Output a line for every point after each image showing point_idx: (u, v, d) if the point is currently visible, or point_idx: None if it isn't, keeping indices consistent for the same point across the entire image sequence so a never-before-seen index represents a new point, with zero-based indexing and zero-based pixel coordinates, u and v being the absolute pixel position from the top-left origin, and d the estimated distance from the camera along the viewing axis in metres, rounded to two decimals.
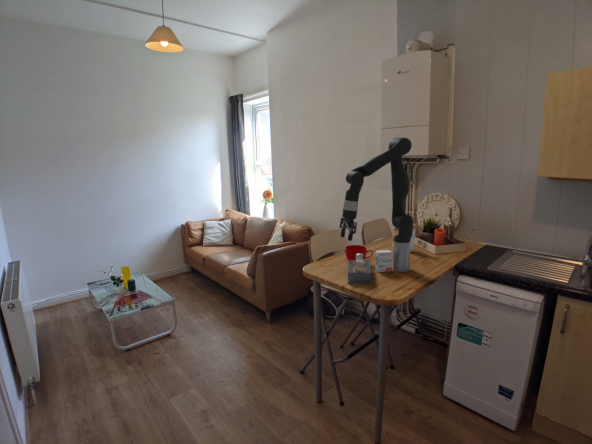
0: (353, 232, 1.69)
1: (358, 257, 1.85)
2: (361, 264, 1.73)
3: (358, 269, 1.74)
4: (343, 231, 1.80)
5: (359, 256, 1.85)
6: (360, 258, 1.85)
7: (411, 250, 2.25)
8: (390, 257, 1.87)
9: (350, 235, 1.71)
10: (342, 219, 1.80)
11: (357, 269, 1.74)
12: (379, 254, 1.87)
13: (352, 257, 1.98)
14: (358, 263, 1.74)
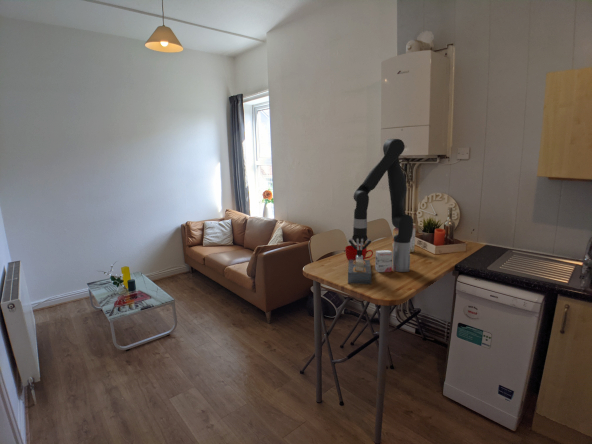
0: None
1: (358, 259, 1.86)
2: (361, 264, 1.73)
3: (358, 269, 1.74)
4: None
5: (359, 258, 1.85)
6: None
7: (411, 250, 2.25)
8: (390, 257, 1.87)
9: None
10: (351, 240, 1.85)
11: (357, 269, 1.74)
12: (379, 254, 1.87)
13: (352, 257, 1.98)
14: (358, 263, 1.74)
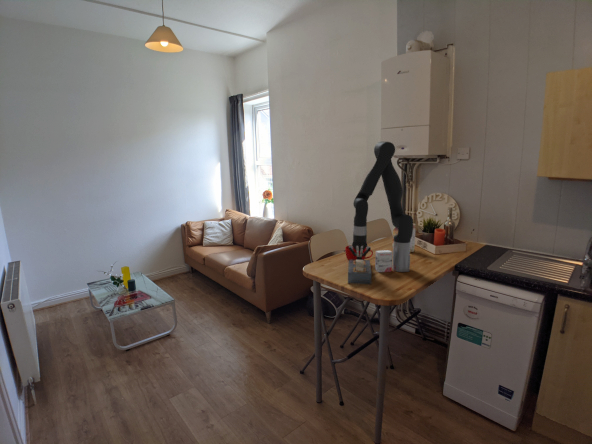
0: (365, 254, 1.86)
1: None
2: (361, 264, 1.73)
3: (358, 269, 1.74)
4: None
5: None
6: None
7: (411, 250, 2.25)
8: (390, 257, 1.87)
9: None
10: (350, 247, 1.86)
11: (357, 269, 1.74)
12: (379, 254, 1.87)
13: (352, 257, 1.98)
14: (358, 263, 1.74)
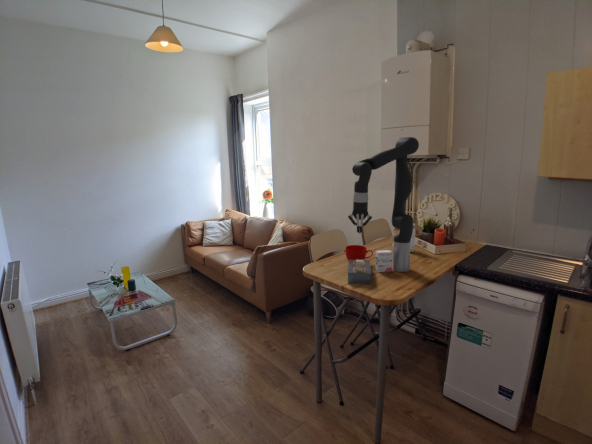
0: (365, 224, 1.74)
1: None
2: (361, 264, 1.73)
3: (358, 269, 1.74)
4: None
5: None
6: None
7: (411, 250, 2.25)
8: (390, 257, 1.87)
9: None
10: (350, 216, 1.74)
11: (357, 269, 1.74)
12: (379, 254, 1.87)
13: (352, 257, 1.98)
14: (358, 263, 1.74)
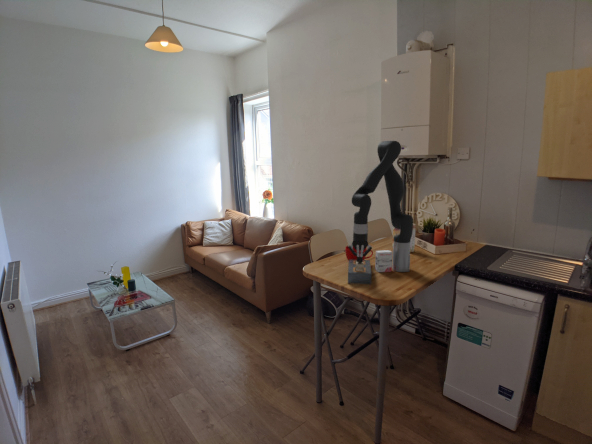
0: None
1: None
2: (361, 266, 1.74)
3: None
4: None
5: None
6: None
7: (411, 250, 2.25)
8: (390, 257, 1.87)
9: (362, 258, 1.74)
10: (350, 247, 1.74)
11: None
12: (379, 254, 1.87)
13: (352, 257, 1.98)
14: (358, 265, 1.74)
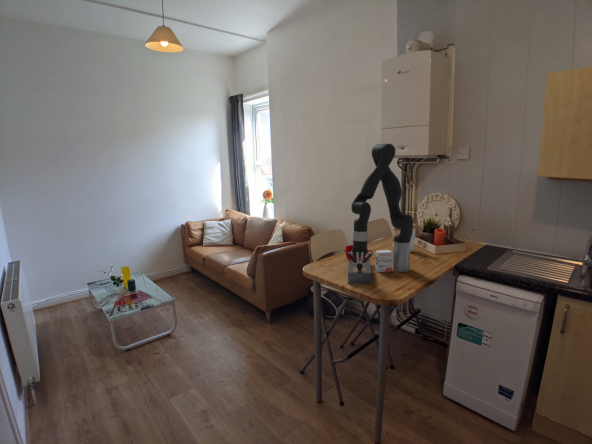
0: None
1: None
2: None
3: None
4: None
5: None
6: None
7: (411, 250, 2.25)
8: (390, 257, 1.87)
9: None
10: (350, 254, 1.74)
11: None
12: (379, 254, 1.87)
13: None
14: None
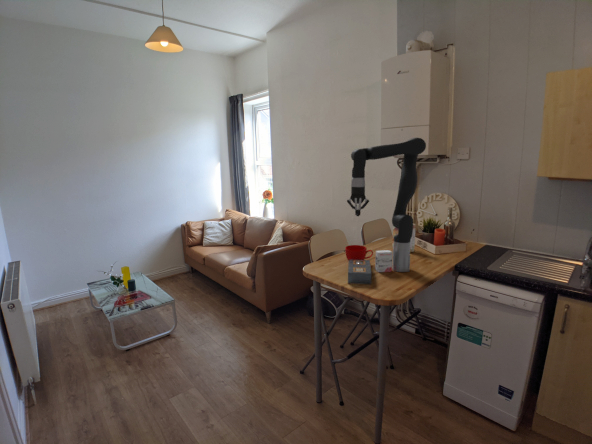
0: (363, 207, 1.85)
1: None
2: None
3: None
4: None
5: None
6: None
7: (411, 250, 2.25)
8: (390, 257, 1.87)
9: None
10: (349, 200, 1.84)
11: None
12: (379, 254, 1.87)
13: (352, 257, 1.98)
14: None
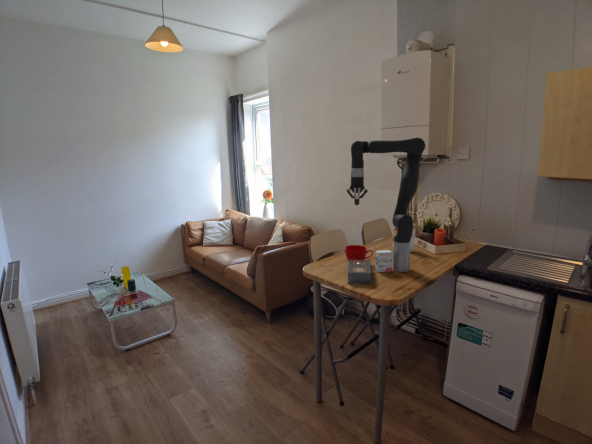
0: (362, 196, 1.93)
1: None
2: None
3: None
4: None
5: None
6: None
7: (411, 250, 2.25)
8: (390, 257, 1.87)
9: None
10: (348, 190, 1.93)
11: None
12: (379, 254, 1.87)
13: (352, 257, 1.98)
14: None
